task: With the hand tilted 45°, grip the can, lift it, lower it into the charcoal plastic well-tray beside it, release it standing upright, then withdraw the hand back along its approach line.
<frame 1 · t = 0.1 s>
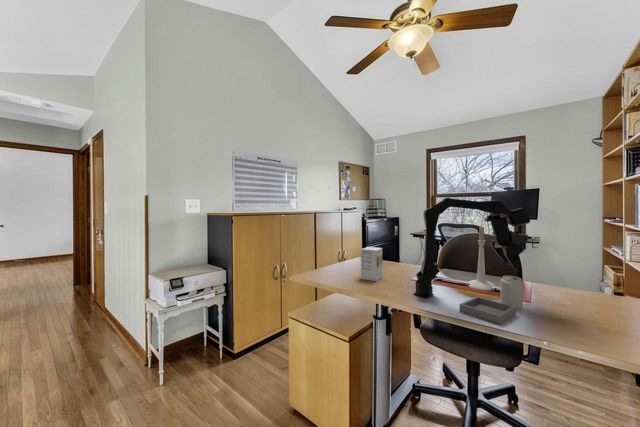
hand: (510, 265, 113), 15 cm above the table, tool pointing down, fingers open, 9 cm apart
supplement box: (371, 278, 150), on the table
can: (511, 307, 108), on the table
candlestick: (480, 286, 134), on the table
well tray: (487, 313, 103), on the table
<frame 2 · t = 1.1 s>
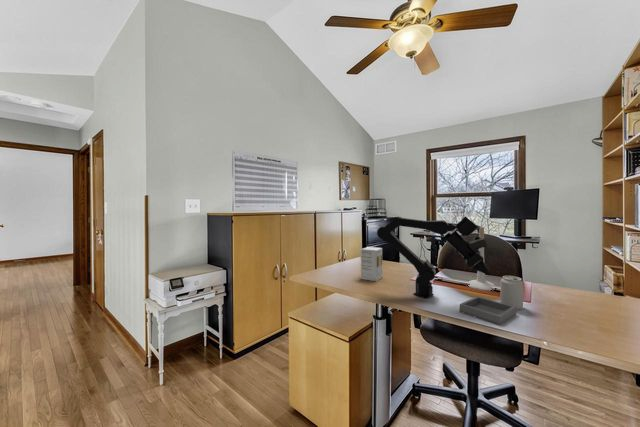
hand: (488, 271, 111), 13 cm above the table, tool tilted 45°, fingers open, 9 cm apart
nothing on the table moved.
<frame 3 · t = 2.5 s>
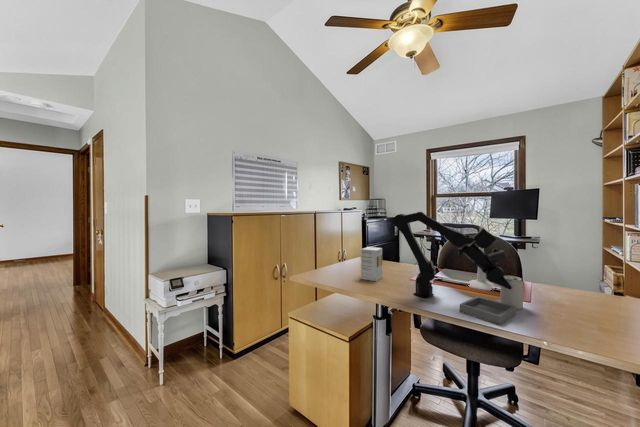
hand: (508, 285, 108), 9 cm above the table, tool tilted 45°, fingers open, 9 cm apart
nothing on the table moved.
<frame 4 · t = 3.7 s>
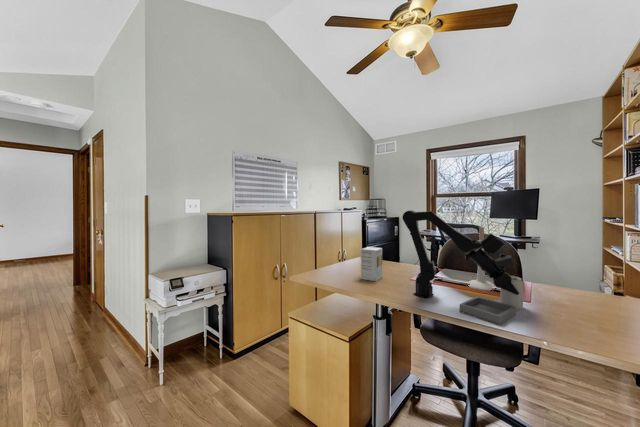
hand: (515, 290, 107), 7 cm above the table, tool tilted 45°, fingers closed on can, 7 cm apart
can: (511, 307, 108), on the table, touching gripper
everything else where it was.
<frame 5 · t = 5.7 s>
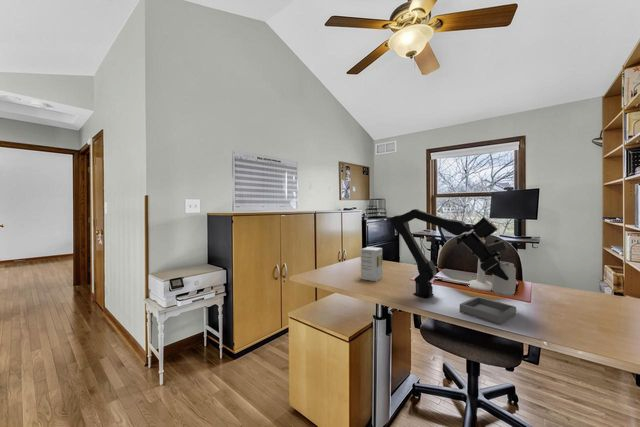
hand: (507, 277, 104), 13 cm above the table, tool tilted 45°, fingers closed on can, 7 cm apart
can: (502, 293, 105), point 6 cm above the table, touching gripper
everything else where it was.
when the fingers open (9 cm above the table, at t = 8.0 s): can drops 1 cm, resting on well tray.
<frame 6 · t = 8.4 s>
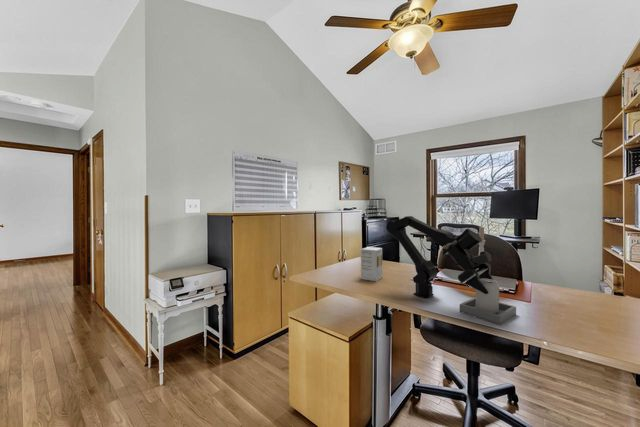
hand: (491, 290, 101), 9 cm above the table, tool tilted 45°, fingers open, 9 cm apart
can: (486, 311, 103), resting on well tray
everything else where it was.
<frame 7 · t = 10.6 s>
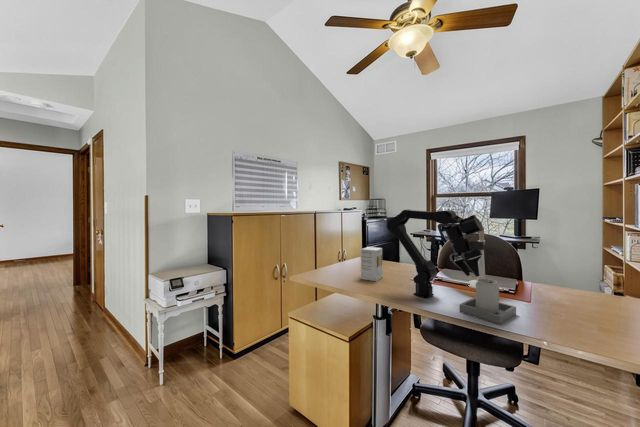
hand: (473, 275, 107), 13 cm above the table, tool tilted 25°, fingers open, 9 cm apart
nothing on the table moved.
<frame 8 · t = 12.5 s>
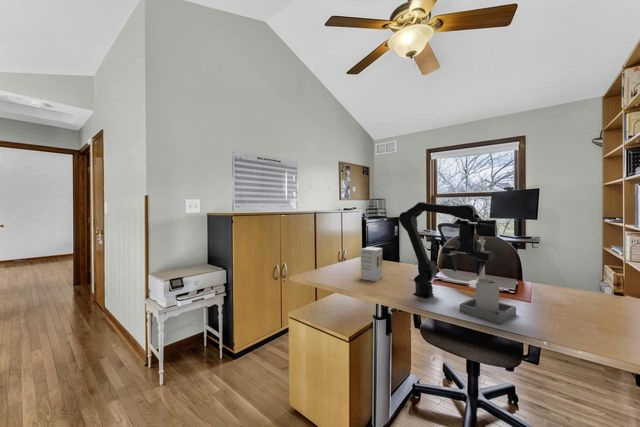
hand: (466, 273, 110), 13 cm above the table, tool pointing down, fingers open, 9 cm apart
nothing on the table moved.
at the end: can 0.2 cm off-centre on the well tray, point 0.4 cm above the well tray's base; can tilted 0°; the gripper is holding nothing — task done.
